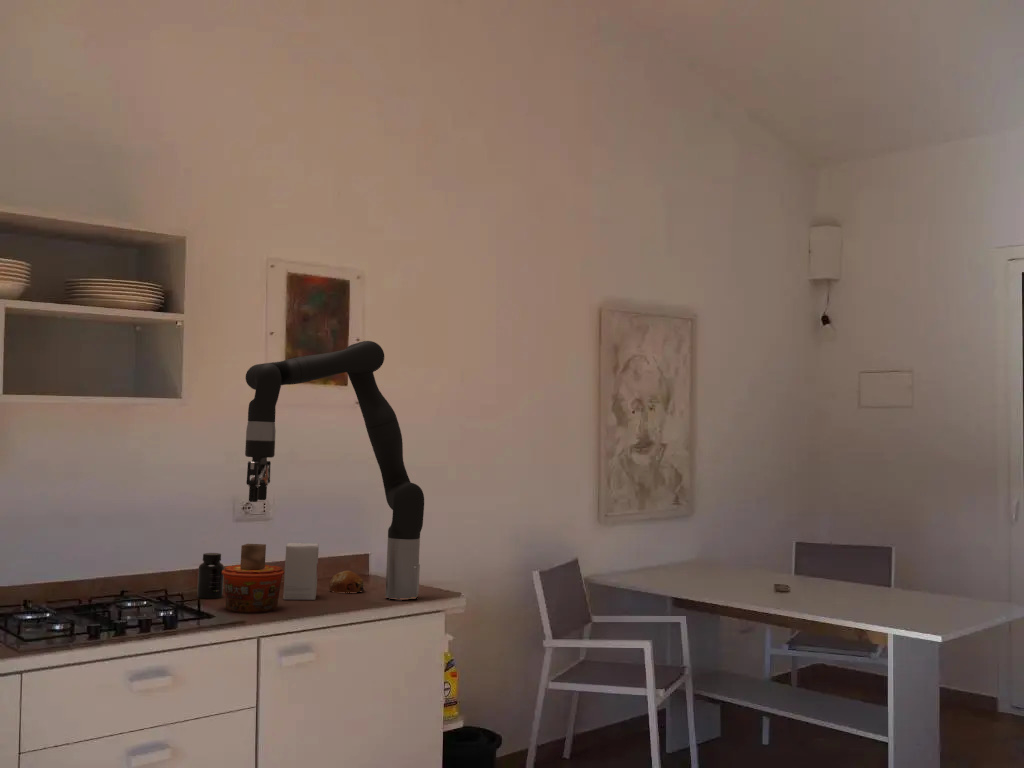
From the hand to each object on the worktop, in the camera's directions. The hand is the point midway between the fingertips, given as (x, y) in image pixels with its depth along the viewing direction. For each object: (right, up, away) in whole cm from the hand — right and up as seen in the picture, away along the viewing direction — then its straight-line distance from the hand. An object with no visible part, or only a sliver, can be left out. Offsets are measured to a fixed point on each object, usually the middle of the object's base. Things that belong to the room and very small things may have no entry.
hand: (257, 500), depth 260 cm
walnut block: (-1, -17, -2) cm, 18 cm away
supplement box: (+7, -30, +19) cm, 36 cm away
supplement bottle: (-17, -29, +14) cm, 36 cm away
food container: (-1, -28, -2) cm, 28 cm away
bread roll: (+18, -31, +33) cm, 49 cm away
